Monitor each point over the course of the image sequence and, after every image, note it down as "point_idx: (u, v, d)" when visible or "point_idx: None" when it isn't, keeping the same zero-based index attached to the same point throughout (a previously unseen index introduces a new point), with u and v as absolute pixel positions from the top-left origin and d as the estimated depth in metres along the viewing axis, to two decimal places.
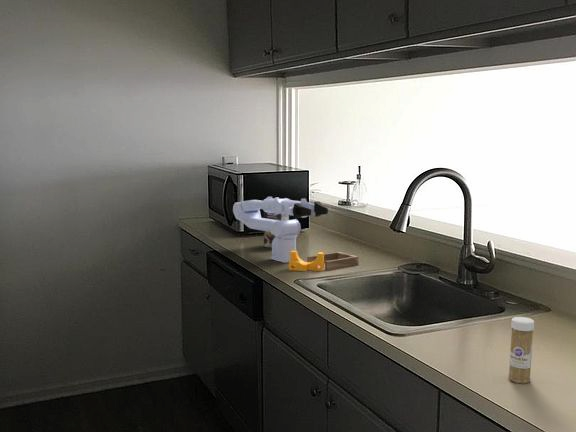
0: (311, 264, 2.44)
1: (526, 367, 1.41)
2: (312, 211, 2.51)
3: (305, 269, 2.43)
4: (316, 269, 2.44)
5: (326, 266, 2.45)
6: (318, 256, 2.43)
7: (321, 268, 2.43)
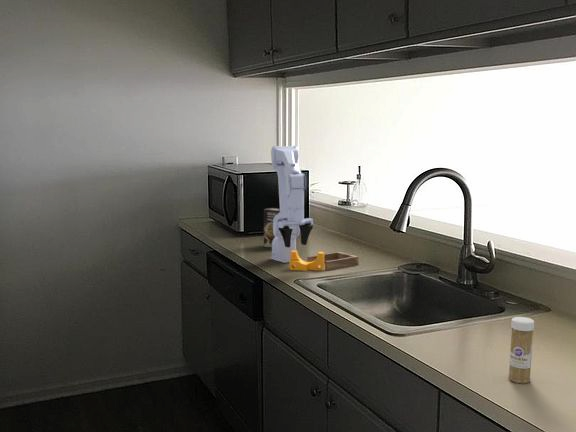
0: (311, 264, 2.45)
1: (526, 367, 1.41)
2: None
3: (306, 269, 2.44)
4: (316, 269, 2.45)
5: (326, 266, 2.45)
6: (318, 256, 2.44)
7: (321, 268, 2.44)
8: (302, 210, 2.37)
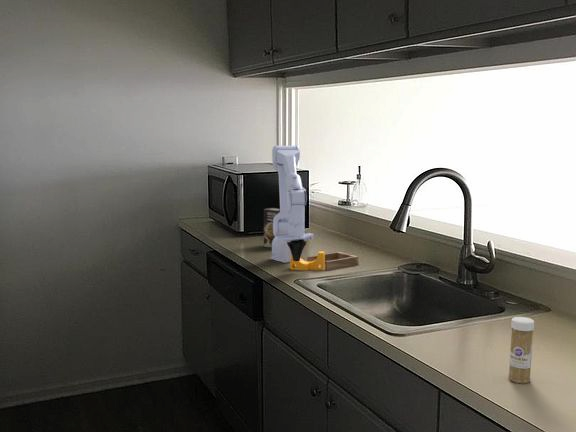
0: (312, 263, 2.45)
1: (526, 367, 1.41)
2: None
3: (306, 268, 2.44)
4: (317, 268, 2.45)
5: (326, 266, 2.45)
6: (319, 255, 2.44)
7: (322, 267, 2.45)
8: (303, 225, 2.38)
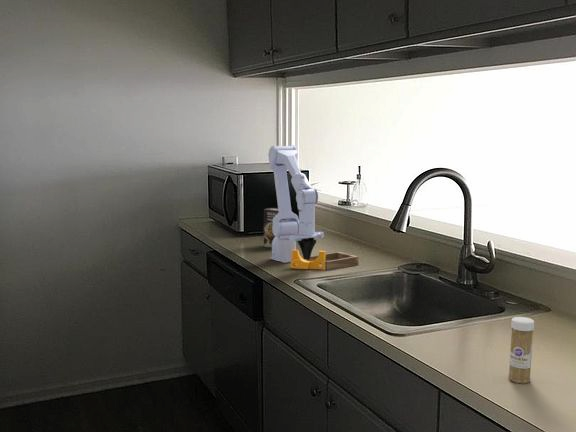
0: (313, 262, 2.46)
1: (526, 367, 1.41)
2: None
3: (307, 267, 2.45)
4: (318, 267, 2.46)
5: (326, 266, 2.45)
6: (320, 254, 2.45)
7: (323, 266, 2.45)
8: (313, 224, 2.41)
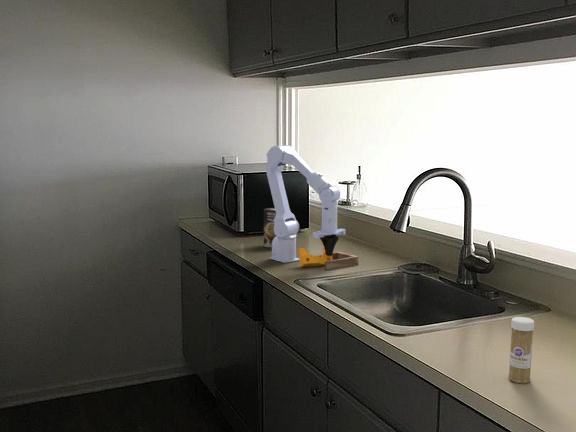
0: (322, 257, 2.51)
1: (526, 367, 1.41)
2: None
3: (319, 260, 2.48)
4: None
5: (326, 266, 2.45)
6: None
7: None
8: (336, 221, 2.48)
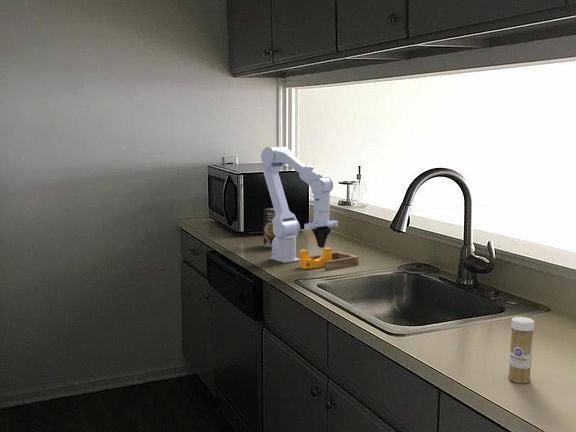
0: (322, 260, 2.50)
1: (526, 367, 1.41)
2: None
3: (319, 265, 2.48)
4: None
5: (326, 266, 2.45)
6: (328, 251, 2.51)
7: None
8: (328, 213, 2.45)
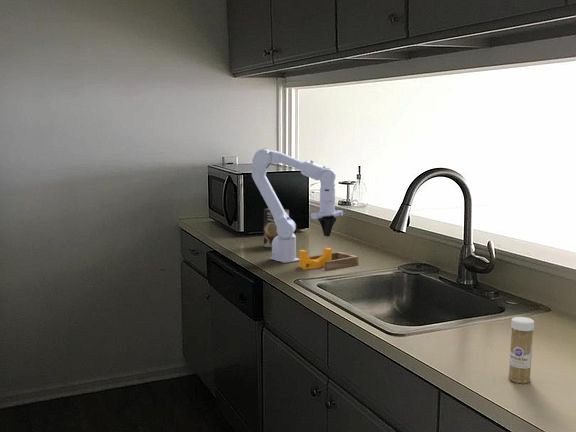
0: (321, 260, 2.50)
1: (526, 367, 1.41)
2: None
3: (319, 266, 2.48)
4: None
5: (326, 266, 2.45)
6: (328, 252, 2.51)
7: None
8: (333, 202, 2.54)
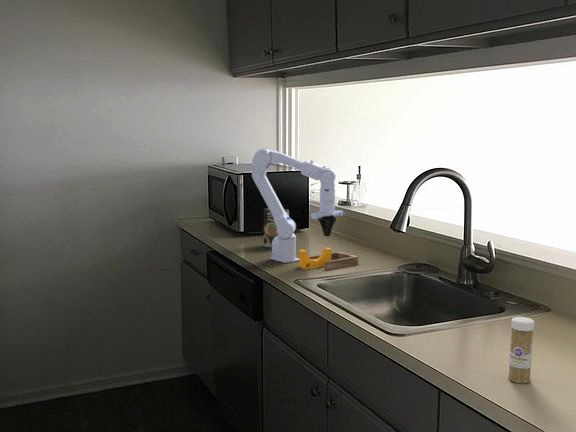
0: (321, 260, 2.51)
1: (526, 367, 1.41)
2: None
3: (318, 266, 2.49)
4: None
5: (326, 266, 2.45)
6: (327, 251, 2.51)
7: None
8: (333, 202, 2.54)
